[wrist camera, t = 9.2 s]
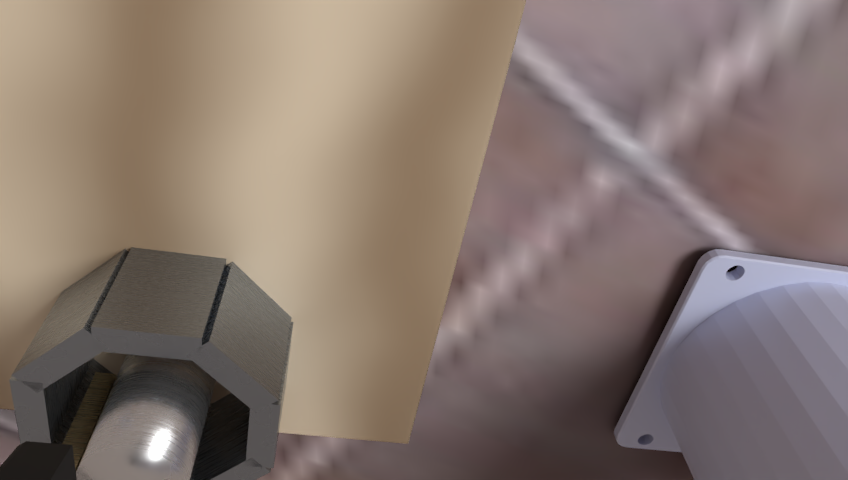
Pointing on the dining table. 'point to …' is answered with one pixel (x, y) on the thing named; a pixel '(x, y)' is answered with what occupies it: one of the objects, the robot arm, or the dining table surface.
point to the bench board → (256, 170)
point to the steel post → (141, 421)
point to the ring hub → (165, 351)
